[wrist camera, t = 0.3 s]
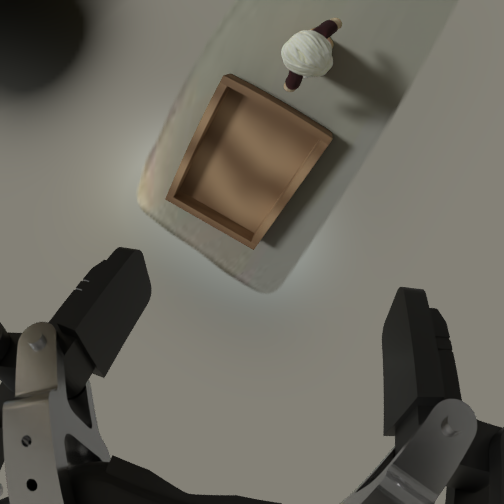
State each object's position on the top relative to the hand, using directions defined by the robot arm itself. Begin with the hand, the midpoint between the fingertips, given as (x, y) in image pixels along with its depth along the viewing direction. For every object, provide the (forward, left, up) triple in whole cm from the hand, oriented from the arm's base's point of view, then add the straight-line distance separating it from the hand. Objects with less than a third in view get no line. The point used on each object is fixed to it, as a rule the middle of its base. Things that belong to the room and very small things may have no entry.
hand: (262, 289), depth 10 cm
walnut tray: (+8, -3, -26) cm, 27 cm away
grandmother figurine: (-6, -3, -26) cm, 27 cm away
